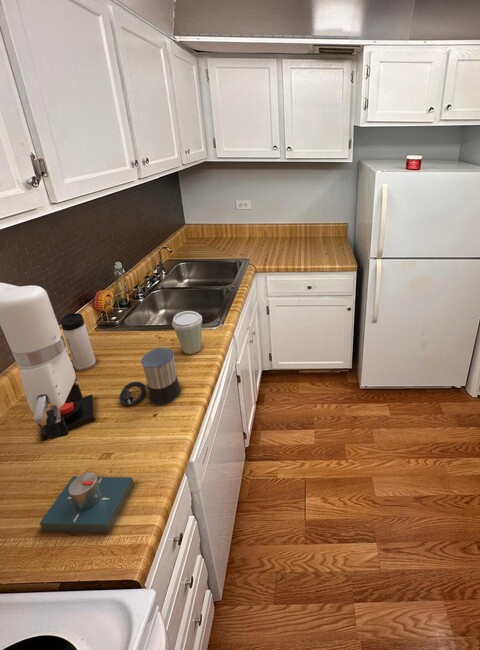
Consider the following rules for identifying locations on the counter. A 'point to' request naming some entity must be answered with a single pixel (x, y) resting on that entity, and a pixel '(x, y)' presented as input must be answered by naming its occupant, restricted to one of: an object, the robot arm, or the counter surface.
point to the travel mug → (78, 341)
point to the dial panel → (94, 518)
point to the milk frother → (156, 379)
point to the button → (66, 408)
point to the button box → (76, 415)
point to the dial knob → (85, 491)
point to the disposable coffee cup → (188, 330)
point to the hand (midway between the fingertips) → (67, 417)
